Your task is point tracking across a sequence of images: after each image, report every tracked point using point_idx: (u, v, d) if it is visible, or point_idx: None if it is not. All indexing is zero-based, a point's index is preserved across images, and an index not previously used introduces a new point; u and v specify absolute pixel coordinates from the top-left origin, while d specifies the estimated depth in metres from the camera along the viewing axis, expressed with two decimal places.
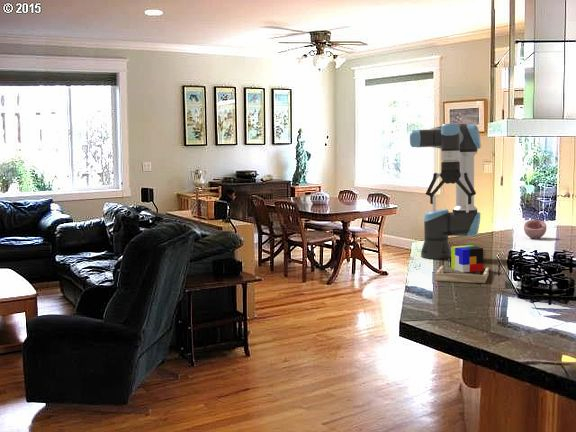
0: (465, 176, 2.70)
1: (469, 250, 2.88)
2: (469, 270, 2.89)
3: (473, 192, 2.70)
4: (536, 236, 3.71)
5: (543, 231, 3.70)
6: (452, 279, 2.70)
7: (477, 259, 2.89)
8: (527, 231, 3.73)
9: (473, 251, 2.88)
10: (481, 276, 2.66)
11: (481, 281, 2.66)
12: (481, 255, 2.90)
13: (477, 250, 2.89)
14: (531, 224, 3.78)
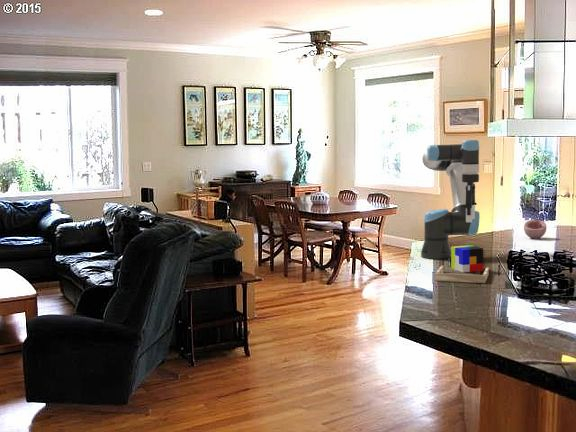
0: (466, 189, 2.99)
1: (469, 250, 2.88)
2: (469, 270, 2.89)
3: (465, 204, 2.97)
4: (536, 236, 3.71)
5: (543, 231, 3.70)
6: (452, 279, 2.70)
7: (477, 259, 2.89)
8: (527, 231, 3.73)
9: (473, 251, 2.88)
10: (481, 276, 2.66)
11: (481, 281, 2.66)
12: (481, 255, 2.90)
13: (477, 250, 2.89)
14: (531, 224, 3.78)
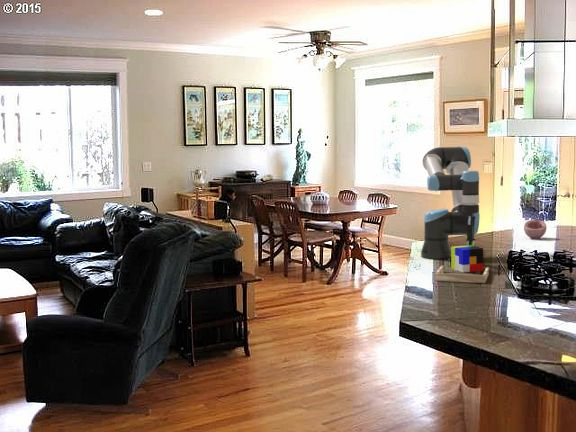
0: (466, 223, 3.01)
1: (469, 250, 2.88)
2: (469, 270, 2.89)
3: (467, 237, 3.04)
4: (536, 236, 3.71)
5: (543, 231, 3.70)
6: (452, 279, 2.70)
7: (477, 259, 2.89)
8: (527, 231, 3.73)
9: (473, 251, 2.88)
10: (481, 276, 2.66)
11: (481, 281, 2.66)
12: (481, 255, 2.90)
13: (477, 250, 2.89)
14: (531, 224, 3.78)
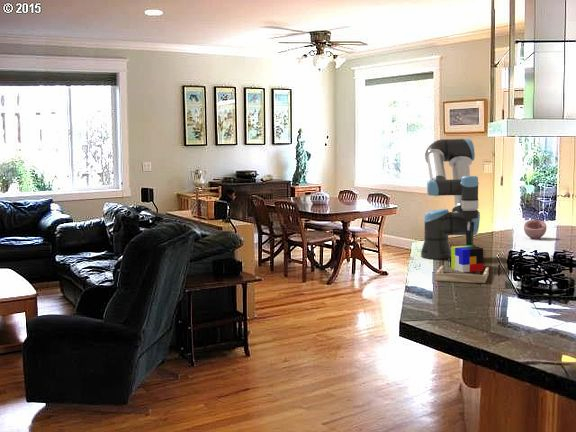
0: (465, 228, 2.98)
1: (469, 250, 2.88)
2: (469, 270, 2.89)
3: (466, 243, 3.01)
4: (536, 236, 3.71)
5: (543, 231, 3.70)
6: (452, 279, 2.70)
7: (477, 259, 2.89)
8: (527, 231, 3.73)
9: (473, 251, 2.88)
10: (481, 276, 2.66)
11: (481, 281, 2.66)
12: (481, 255, 2.90)
13: (477, 250, 2.89)
14: (531, 224, 3.78)
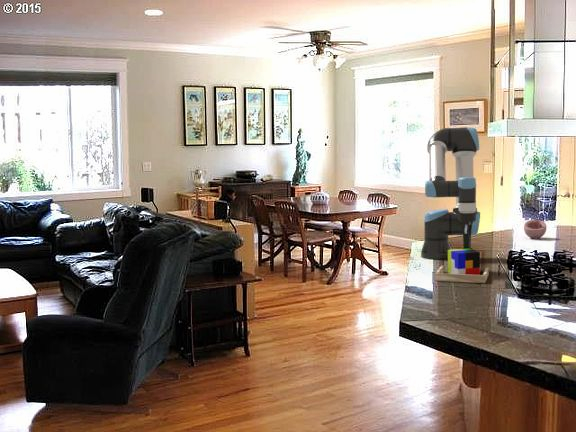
0: (463, 232, 2.88)
1: (465, 254, 2.78)
2: None
3: None
4: (536, 236, 3.71)
5: (543, 231, 3.70)
6: (452, 279, 2.70)
7: (473, 263, 2.80)
8: (527, 231, 3.73)
9: (469, 255, 2.79)
10: (481, 276, 2.66)
11: (481, 281, 2.66)
12: (478, 259, 2.80)
13: (473, 254, 2.79)
14: (531, 224, 3.78)
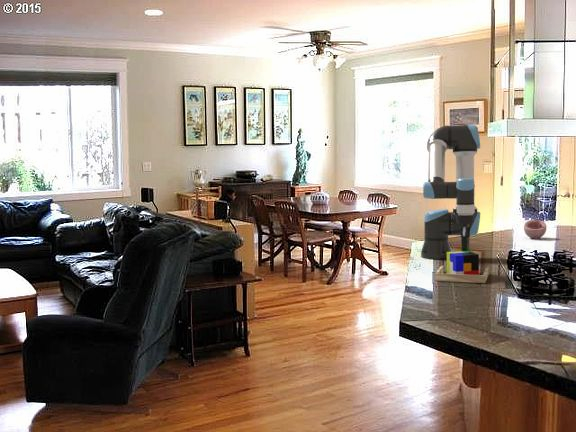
0: (461, 234, 2.82)
1: (463, 256, 2.73)
2: None
3: None
4: (536, 236, 3.71)
5: (543, 231, 3.70)
6: (452, 279, 2.70)
7: (472, 266, 2.74)
8: (527, 231, 3.73)
9: (467, 257, 2.73)
10: (481, 276, 2.66)
11: (481, 281, 2.66)
12: (476, 262, 2.74)
13: (472, 256, 2.73)
14: (531, 224, 3.78)
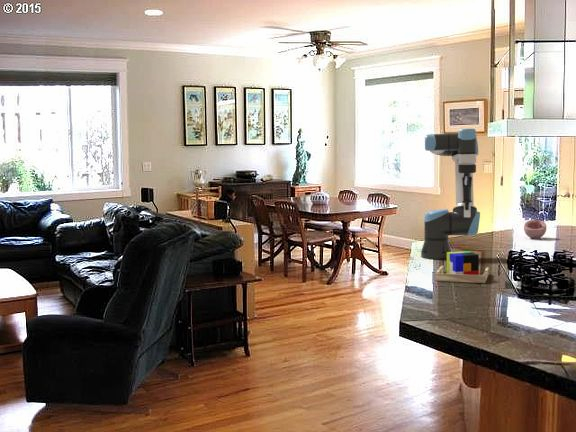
0: (463, 183, 2.87)
1: (463, 256, 2.73)
2: None
3: None
4: (536, 236, 3.71)
5: (543, 231, 3.70)
6: (452, 279, 2.70)
7: (472, 266, 2.74)
8: (527, 231, 3.73)
9: (467, 258, 2.73)
10: (481, 276, 2.66)
11: (481, 281, 2.66)
12: (476, 262, 2.74)
13: (472, 257, 2.73)
14: (531, 224, 3.78)
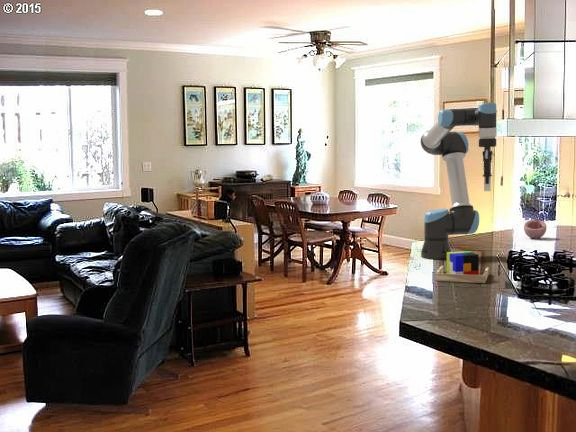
0: (483, 157, 2.89)
1: (463, 256, 2.73)
2: None
3: (484, 173, 2.91)
4: (536, 236, 3.71)
5: (543, 231, 3.70)
6: (452, 279, 2.70)
7: (472, 266, 2.74)
8: (527, 231, 3.73)
9: (467, 258, 2.73)
10: (481, 276, 2.66)
11: (481, 281, 2.66)
12: (476, 262, 2.74)
13: (472, 257, 2.73)
14: (531, 224, 3.78)
